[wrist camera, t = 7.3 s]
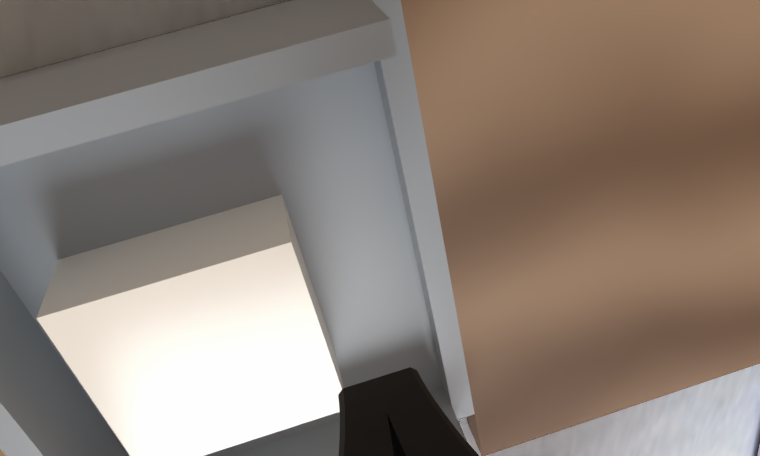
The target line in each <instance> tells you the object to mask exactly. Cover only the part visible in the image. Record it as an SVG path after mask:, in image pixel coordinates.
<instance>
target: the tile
mask: <svg viewBox="0 0 760 456" xmlns="http://www.w3.org/2000/svg"><path fill="white" fill-rule="evenodd" d="M36 319H37V320H38V322H39V323H40V324H41V326H42V327H43V329H44V330H45V332H46V333H47V335H48V336H49V338H50V339H51V341H52V342H53V344H54V345H55V346H56V348H57V349H58V351H59V352H60V354H61V355H62V357H63V358H64V360H65V361H66V363H67V364H68V366H69V367H70V368H71V370H72V371H73V373H74V374H75V376H76V377H77V379H78V380H79V382H80V383H81V385H82V386H83V388H84V389H85V390H86V392H87V393H88V395H89V396H90V398H91V399H92V401H93V402H94V404H95V405H96V407H97V408H98V409H99V411H100V412H101V414H102V415H103V417H104V418H105V420H106V421H107V423H108V424H109V426H110V427H111V429H112V430H113V431H114V433H115V434H116V436H117V437H118V439H119V440H120V442H121V443H122V445H123V446H124V448H125V449H126V451H127V452H128V453H129V455H130V456H204V455H207V454H210V453H213V452H216V451H219V450H223V449H226V448H229V447H232V446H235V445H238V444H241V443H244V442H247V441H250V440H254V439H257V438H260V437H263V436H266V435H269V434H272V433H275V432H278V431H281V430H285V429H288V428H291V427H294V426H297V425H300V424H303V423H306V422H309V421H312V420H315V419H319V418H322V417H325V416H328V415H331V414H334V413H337V412H340V410H339V398H338V394H339V393H340V392H341V390H342V389H343V388H344V387H343V383H342V379H341V374H340V370H339V366H338V362H337V358H336V354H335V350H334V347H333V345H332V342H331V339H330V336H329V333H328V330H327V327H326V324H325V321H324V318H323V315H322V312H321V309H320V306H319V303H318V300H317V297H316V294H315V291H314V288H313V285H312V282H311V279H310V276H309V273H308V271H307V268H306V265H305V262H304V259H303V256H302V253H301V250H300V247H299V244H298V241H297V238H296V235H295V232H294V229H293V226H292V223H291V220H290V217H289V214H288V211H287V208H286V205H285V202H284V200H283V197H282V195H278V196H275V197H271V198H268V199H265V200H261V201H258V202H254V203H251V204H247V205H244V206H241V207H237V208H234V209H230V210H227V211H224V212H220V213H217V214H213V215H210V216H206V217H203V218H200V219H196V220H193V221H189V222H186V223H182V224H179V225H176V226H172V227H169V228H165V229H162V230H159V231H155V232H152V233H148V234H145V235H141V236H138V237H135V238H131V239H128V240H124V241H121V242H117V243H114V244H111V245H107V246H104V247H100V248H97V249H93V250H90V251H87V252H83V253H80V254H76V255H73V256H70V257H66V258H63V259H59V260H58V261H57V263H56V266H55V269H54V272H53V274H52V277H51V280H50V282H49V285H48V288H47V291H46V293H45V296H44V299H43V301H42V304H41V307H40V309H39V312H38V315H37V318H36Z"/></svg>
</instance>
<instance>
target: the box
mask: <svg viewBox="0 0 760 456" xmlns="http://www.w3.org/2000/svg"><path fill="white" fill-rule="evenodd" d="M278 195H282V197H283V200H284V202H285V205H286V208H287V211H288V214H289V217H290V220H291V223H292V226H293V229H294V232H295V235H296V238H297V241H298V244H299V247H300V250H301V253H302V256H303V259H304V262H305V265H306V268H307V271H308V273H309V276H310V279H311V282H312V285H313V288H314V291H315V294H316V297H317V300H318V303H319V306H320V309H321V312H322V315H323V318H324V321H325V324H326V327H327V330H328V333H329V336H330V339H331V342H332V345H333V347H334V350H335V354H336V358H337V362H338V366H339V370H340V374H341V379H342V383H343V387H344V388H346V387H349V386H352V385H355V384H358V383H362V382H365V381H368V380H371V379H374V378H377V377H381V376H384V375H387V374H390V373H393V372H396V371H400V370H403V369H406V368H409V367H411V368H413V369H416V370H417V371H418V373H419V375H420V377H421V379H422V380H423V382H424V384H425V385H426V387H427V389H428V390H429V392H430V393H431V395H432V396H433V398H434V399H435V401H436V402H437V404H438V405H439V407H440V408H441V409H442V411H443V412H444V413H445V415H446V416H447V417H448V419H449V420H450V421H451V423H452V424H453V425H454V427H455V428H456V429H457V430H458V432H459V433H460V434H461V435H462V437H463V438H464V439H465V440H466V438H465V436H464V434H463V431H462V429H461V427H460V424H459V422H458V419H461V418H464V417H467V416H470V415H473V414H475V413H474V408H473V402H472V396H471V391H470V385H469V380H468V374H467V369H466V363H465V357H464V352H463V346H462V341H461V335H460V329H459V324H458V318H457V313H456V307H455V301H454V296H453V290H452V285H451V279H450V274H449V268H448V262H447V257H446V251H445V246H444V240H443V234H442V229H441V223H440V218H439V212H438V206H437V201H436V195H435V190H434V184H433V179H432V173H431V167H430V162H429V156H428V151H427V145H426V139H425V134H424V128H423V123H422V117H421V111H420V106H419V100H418V95H417V89H416V84H415V78H414V72H413V67H412V61H411V56H410V50H409V44H408V39H407V33H406V28H405V22H404V16H403V11H402V5H401V0H290V1H286V2H283V3H279V4H275V5H272V6H268V7H264V8H260V9H257V10H253V11H249V12H245V13H242V14H238V15H234V16H231V17H227V18H223V19H219V20H216V21H212V22H208V23H204V24H201V25H197V26H193V27H190V28H186V29H182V30H178V31H175V32H171V33H167V34H163V35H160V36H156V37H152V38H149V39H145V40H141V41H137V42H134V43H130V44H126V45H122V46H119V47H115V48H111V49H108V50H104V51H100V52H96V53H93V54H89V55H85V56H82V57H78V58H74V59H70V60H67V61H63V62H59V63H55V64H52V65H48V66H44V67H41V68H37V69H33V70H29V71H26V72H22V73H18V74H14V75H11V76H7V77H3V78H0V449H1V450H2V451H3V453H4V454H5V455H6V456H130V455H129V453H128V452H127V451H126V449H125V448H124V446H123V445H122V443H121V442H120V440H119V439H118V437H117V436H116V434H115V433H114V431H113V430H112V429H111V427H110V426H109V424H108V423H107V421H106V420H105V418H104V417H103V415H102V414H101V412H100V411H99V409H98V408H97V407H96V405H95V404H94V402H93V401H92V399H91V398H90V396H89V395H88V393H87V392H86V390H85V389H84V388H83V386H82V385H81V383H80V382H79V380H78V379H77V377H76V376H75V374H74V373H73V371H72V370H71V368H70V367H69V366H68V364H67V363H66V361H65V360H64V358H63V357H62V355H61V354H60V352H59V351H58V349H57V348H56V346H55V345H54V344H53V342H52V341H51V339H50V338H49V336H48V335H47V333H46V332H45V330H44V329H43V327H42V326H41V324H40V323H39V322H38V320H37V319H36V318H37V315H38V312H39V309H40V307H41V304H42V301H43V299H44V296H45V293H46V291H47V288H48V285H49V282H50V280H51V277H52V274H53V272H54V269H55V266H56V263H57V261H58V260H59V259H63V258H66V257H70V256H73V255H76V254H80V253H83V252H87V251H90V250H93V249H97V248H100V247H104V246H107V245H111V244H114V243H117V242H121V241H124V240H128V239H131V238H135V237H138V236H141V235H145V234H148V233H152V232H155V231H159V230H162V229H165V228H169V227H172V226H176V225H179V224H182V223H186V222H189V221H193V220H196V219H200V218H203V217H206V216H210V215H213V214H217V213H220V212H224V211H227V210H230V209H234V208H237V207H241V206H244V205H247V204H251V203H254V202H258V201H261V200H265V199H268V198H271V197H275V196H278ZM339 439H340V412H337V413H334V414H331V415H328V416H325V417H322V418H319V419H315V420H312V421H309V422H306V423H303V424H300V425H297V426H294V427H291V428H288V429H285V430H281V431H278V432H275V433H272V434H269V435H266V436H263V437H260V438H257V439H254V440H250V441H247V442H244V443H241V444H238V445H235V446H232V447H229V448H226V449H223V450H219V451H216V452H213V453H210V454H207V455H204V456H339Z"/></svg>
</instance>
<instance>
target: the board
mask: <svg viewBox="0 0 760 456" xmlns="http://www.w3.org/2000/svg"><path fill="white" fill-rule="evenodd" d="M401 5H402V11H403V16H404V22H405V28H406V33H407V39H408V44H409V50H410V56H411V61H412V67H413V72H414V78H415V84H416V89H417V95H418V100H419V106H420V111H421V117H422V123H423V128H424V134H425V139H426V145H427V151H428V156H429V162H430V167H431V173H432V179H433V184H434V190H435V195H436V201H437V206H438V212H439V218H440V223H441V229H442V234H443V240H444V246H445V251H446V257H447V262H448V268H449V274H450V279H451V285H452V290H453V296H454V301H455V307H456V313H457V318H458V324H459V329H460V335H461V341H462V346H463V352H464V357H465V363H466V369H467V374H468V380H469V385H470V391H471V396H472V402H473V408H474V413H475V414H473V415H470V416H467V419H468V424H469V428H470V430H471V432H472V434H473V437H474V439H475V441H476V443H477V446H478V448H479V450H480V453H481V455H482V456H485V455H488V454H491V453H494V452H497V451H500V450H503V449H506V448H509V447H512V446H515V445H518V444H521V443H524V442H527V441H530V440H533V439H536V438H539V437H542V436H545V435H548V434H551V433H554V432H557V431H560V430H563V429H566V428H569V427H572V426H575V425H578V424H581V423H584V422H587V421H590V420H593V419H596V418H599V417H602V416H605V415H608V414H611V413H613V412H616V411H619V410H622V409H625V408H628V407H631V406H634V405H637V404H640V403H643V402H646V401H649V400H652V399H655V398H658V397H661V396H664V395H667V394H670V393H673V392H676V391H679V390H682V389H685V388H688V387H691V386H694V385H697V384H700V383H703V382H706V381H709V380H712V379H715V378H718V377H721V376H724V375H727V374H730V373H733V372H736V371H739V370H742V369H745V368H747V367H750V366H753V365H756V364H759V363H760V0H401Z"/></svg>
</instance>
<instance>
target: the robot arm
mask: <svg viewBox="0 0 760 456" xmlns="http://www.w3.org/2000/svg"><path fill="white" fill-rule="evenodd" d="M338 398H339V410H340V439H339V456H479V455H478V454H477V453H476V452H475V451H474V449H473V448H472V447H471V446H470V445H469V444H468V442H467V441H466V440H465V439H464V438H463V437H462V435H461V434H460V433H459V432H458V430H457V429H456V428H455V427H454V425H453V424H452V423H451V421H450V420H449V419H448V417H447V416H446V415H445V413H444V412H443V411H442V409H441V408H440V407H439V405H438V404H437V402H436V401H435V399H434V398H433V396H432V395H431V393H430V392H429V390H428V389H427V387H426V385H425V384H424V382H423V380H422V379H421V377H420V375H419V373H418V371H417V370H416V369H413V368H411V367H409V368H406V369H403V370H400V371H396V372H393V373H390V374H387V375H384V376H381V377H377V378H374V379H371V380H368V381H365V382H362V383H358V384H355V385H352V386H349V387H346V388H343V389H342V390H341V392H340V393H339V394H338ZM757 456H760V446H759V450H758V455H757Z"/></svg>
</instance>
